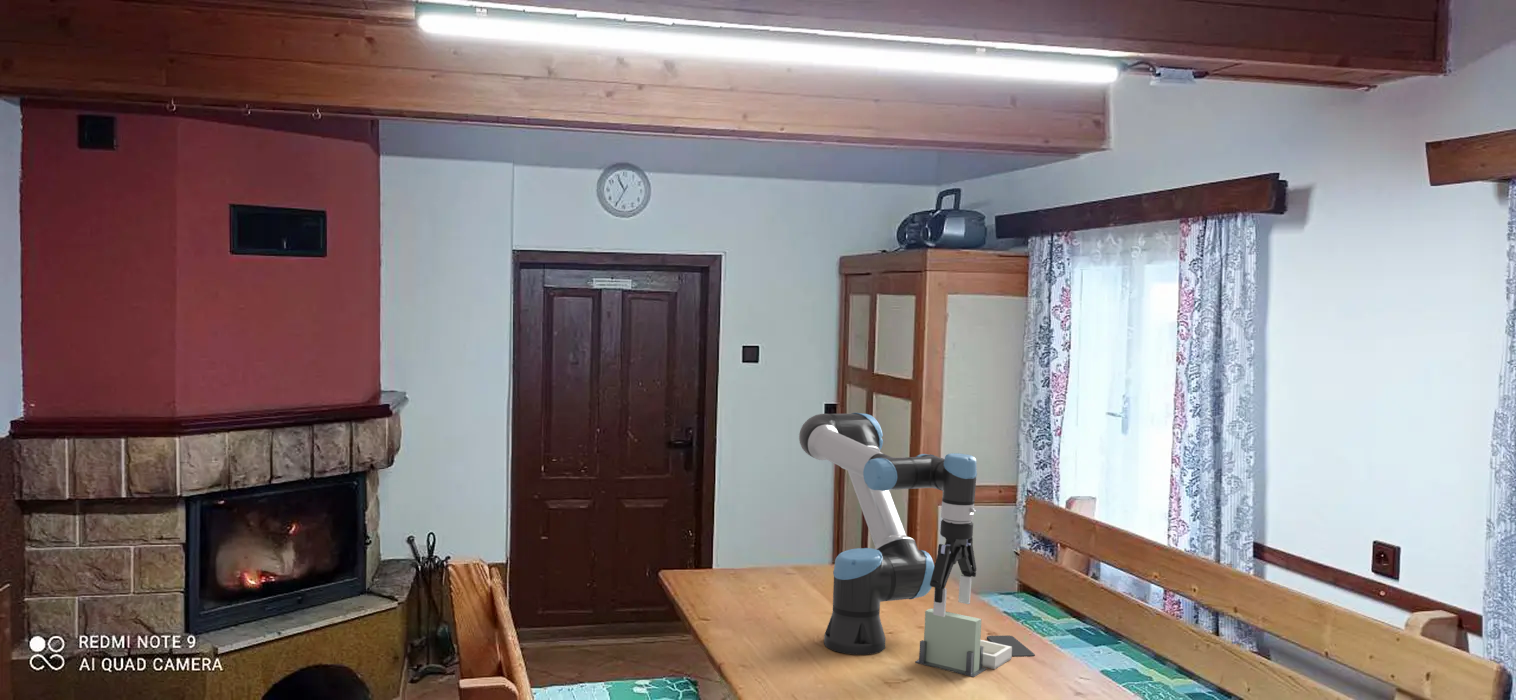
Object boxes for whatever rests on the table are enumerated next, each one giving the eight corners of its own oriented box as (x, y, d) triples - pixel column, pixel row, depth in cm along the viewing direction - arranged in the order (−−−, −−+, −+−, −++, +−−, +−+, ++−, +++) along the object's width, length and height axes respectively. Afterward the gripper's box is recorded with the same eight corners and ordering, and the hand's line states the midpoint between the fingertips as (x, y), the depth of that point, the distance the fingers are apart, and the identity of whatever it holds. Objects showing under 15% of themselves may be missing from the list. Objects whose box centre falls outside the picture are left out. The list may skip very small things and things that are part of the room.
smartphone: (1008, 655, 268) (985, 635, 282) (1007, 659, 268) (985, 638, 282) (1036, 654, 269) (1012, 635, 284) (1036, 658, 269) (1012, 638, 284)
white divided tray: (925, 652, 268) (926, 640, 268) (943, 643, 276) (944, 631, 276) (994, 669, 258) (995, 656, 258) (1011, 658, 266) (1011, 646, 266)
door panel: (981, 668, 257) (983, 617, 257) (973, 673, 254) (976, 621, 253) (931, 656, 265) (933, 607, 264) (923, 660, 261) (925, 610, 261)
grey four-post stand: (915, 662, 260) (916, 640, 260) (928, 655, 266) (929, 633, 266) (973, 677, 252) (974, 654, 252) (986, 669, 258) (987, 647, 257)
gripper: (948, 531, 245) (943, 624, 247) (993, 515, 266) (988, 601, 267) (918, 525, 250) (913, 617, 251) (965, 510, 270) (959, 594, 271)
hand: (951, 609), depth 259 cm, fingers open, 13 cm apart
